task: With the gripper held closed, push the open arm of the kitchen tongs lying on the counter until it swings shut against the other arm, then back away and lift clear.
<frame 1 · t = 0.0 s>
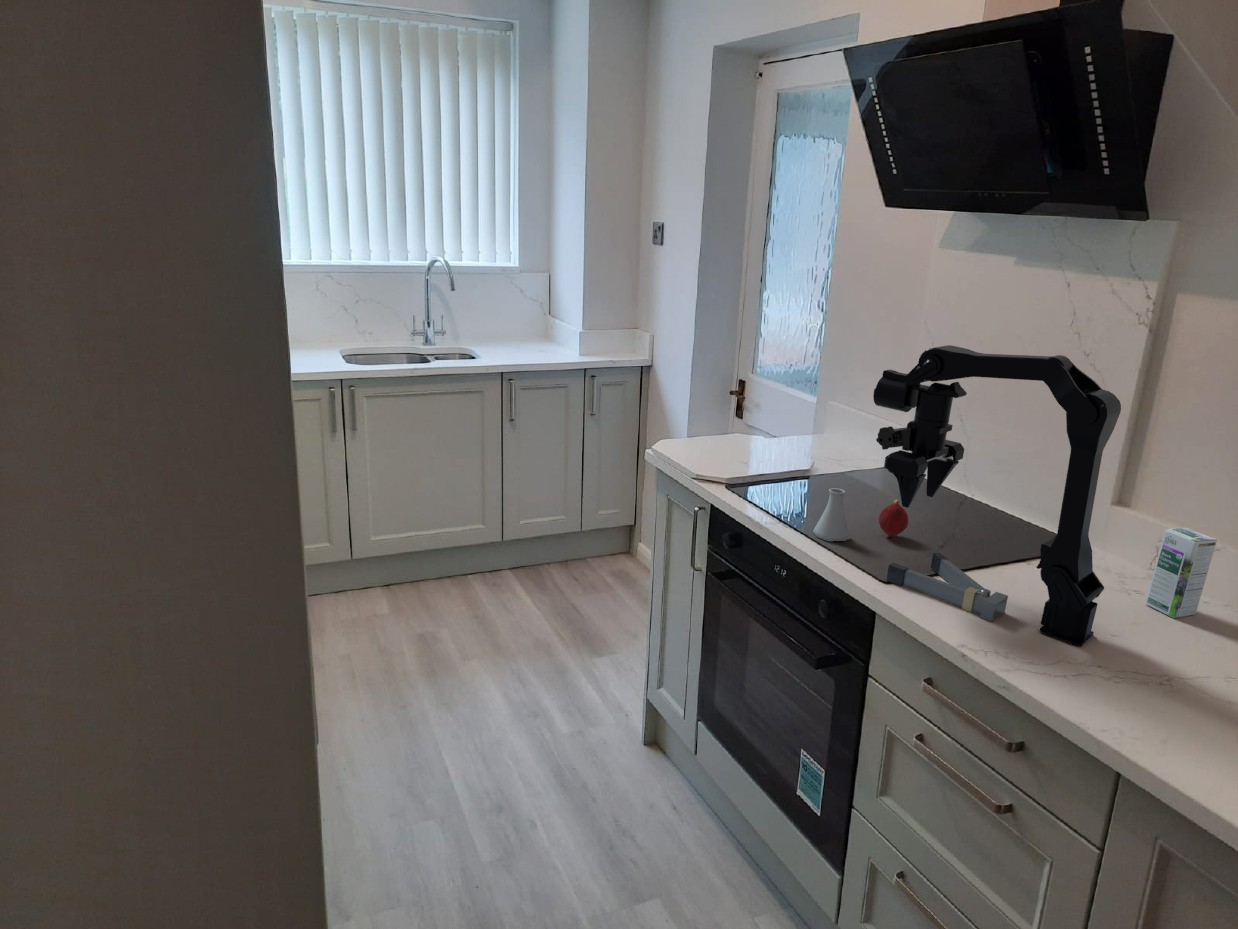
hand: (917, 501, 153), 15 cm above the counter, tool pointing down, fingers open, 9 cm apart
tongs: (982, 608, 146), on the counter
syrup box: (1169, 610, 150), on the counter
onion: (890, 537, 176), on the counter
tongs arm: (959, 579, 153), point 2 cm above the counter, hinge at 35.0°
flask: (831, 537, 175), on the counter
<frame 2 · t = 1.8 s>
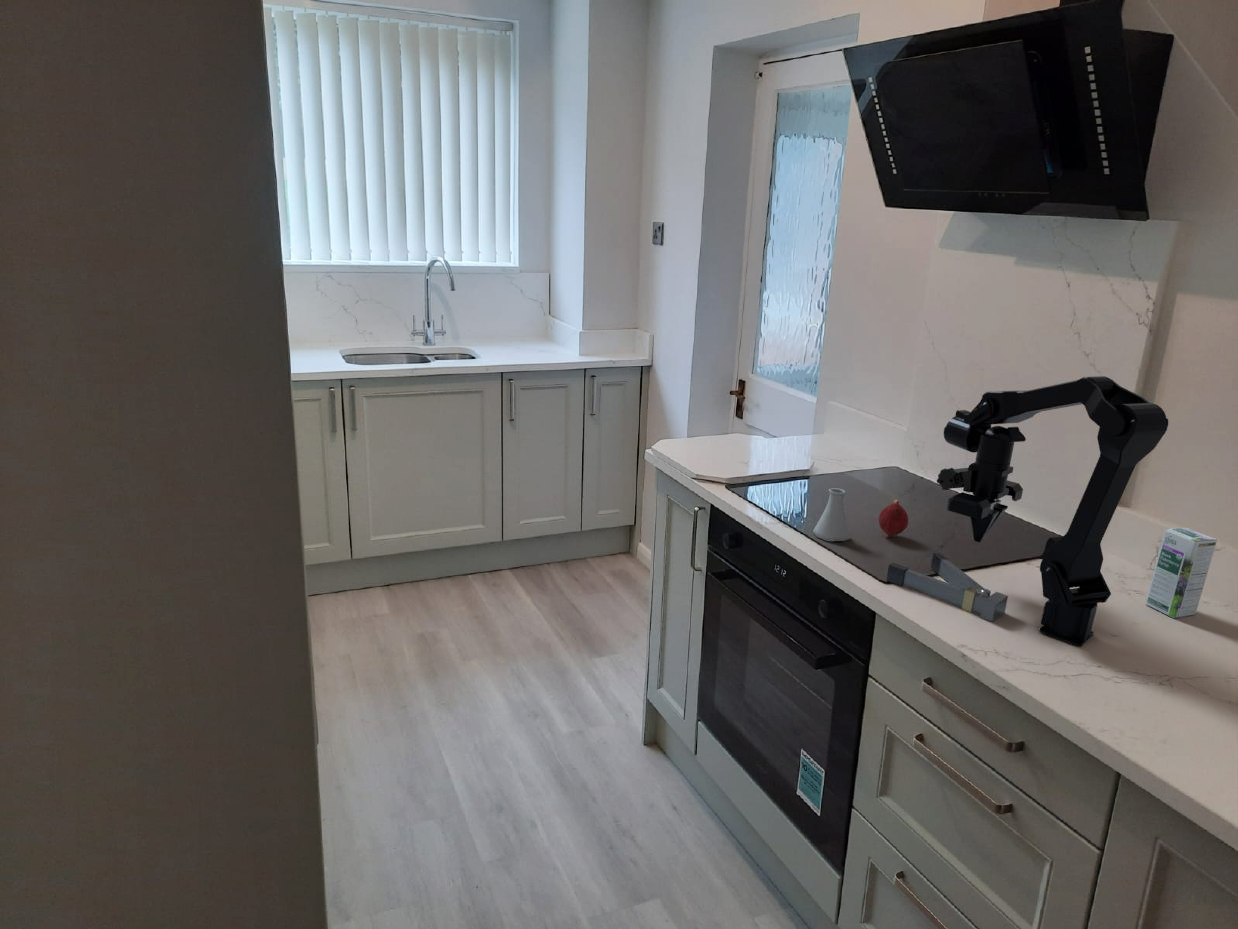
hand: (977, 541, 156), 7 cm above the counter, tool pointing down, fingers closed
nothing on the counter moved.
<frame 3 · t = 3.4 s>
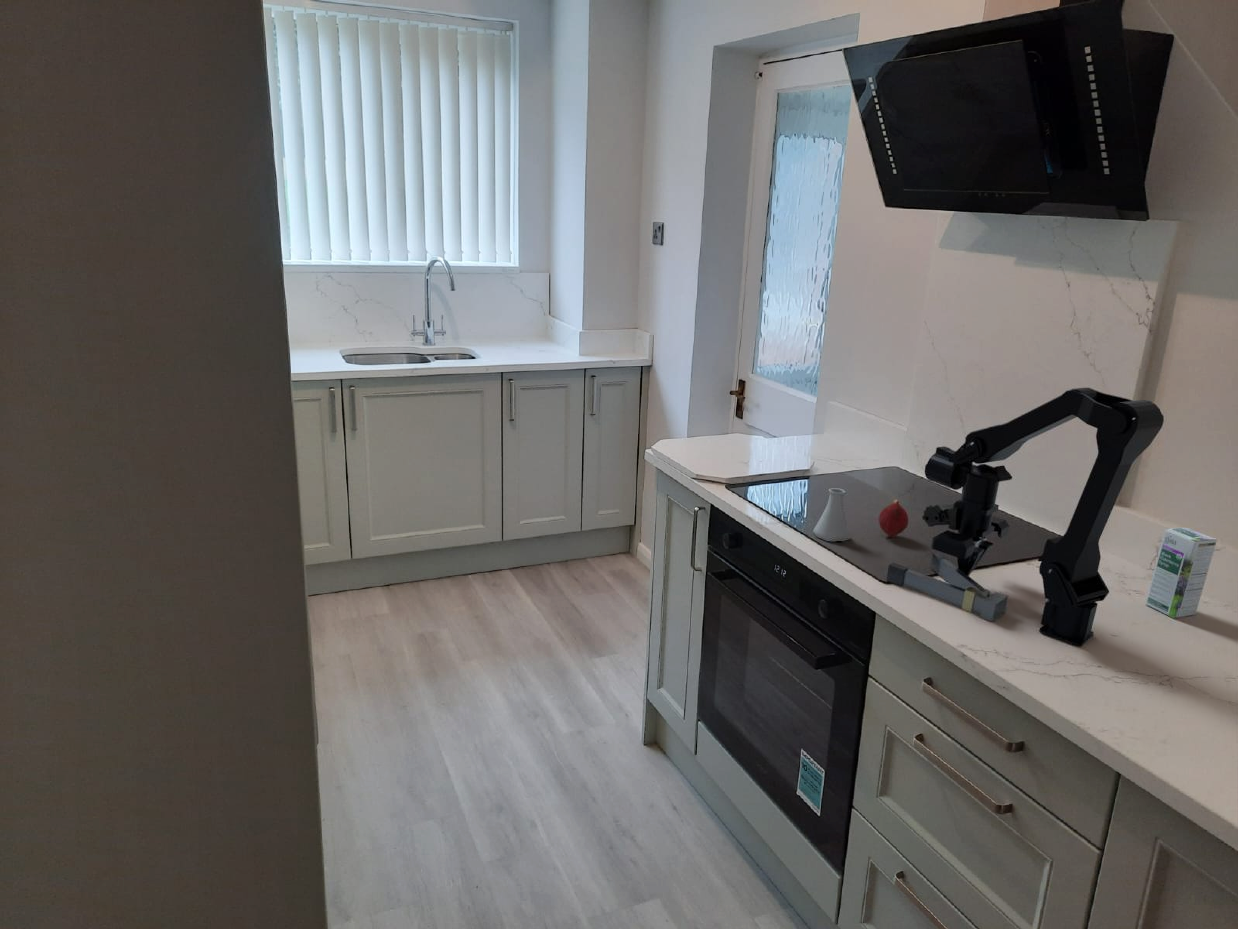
hand: (963, 578, 156), 1 cm above the counter, tool pointing down, fingers closed
tongs arm: (959, 579, 153), point 2 cm above the counter, hinge at 34.8°, touching gripper
everything else where it was.
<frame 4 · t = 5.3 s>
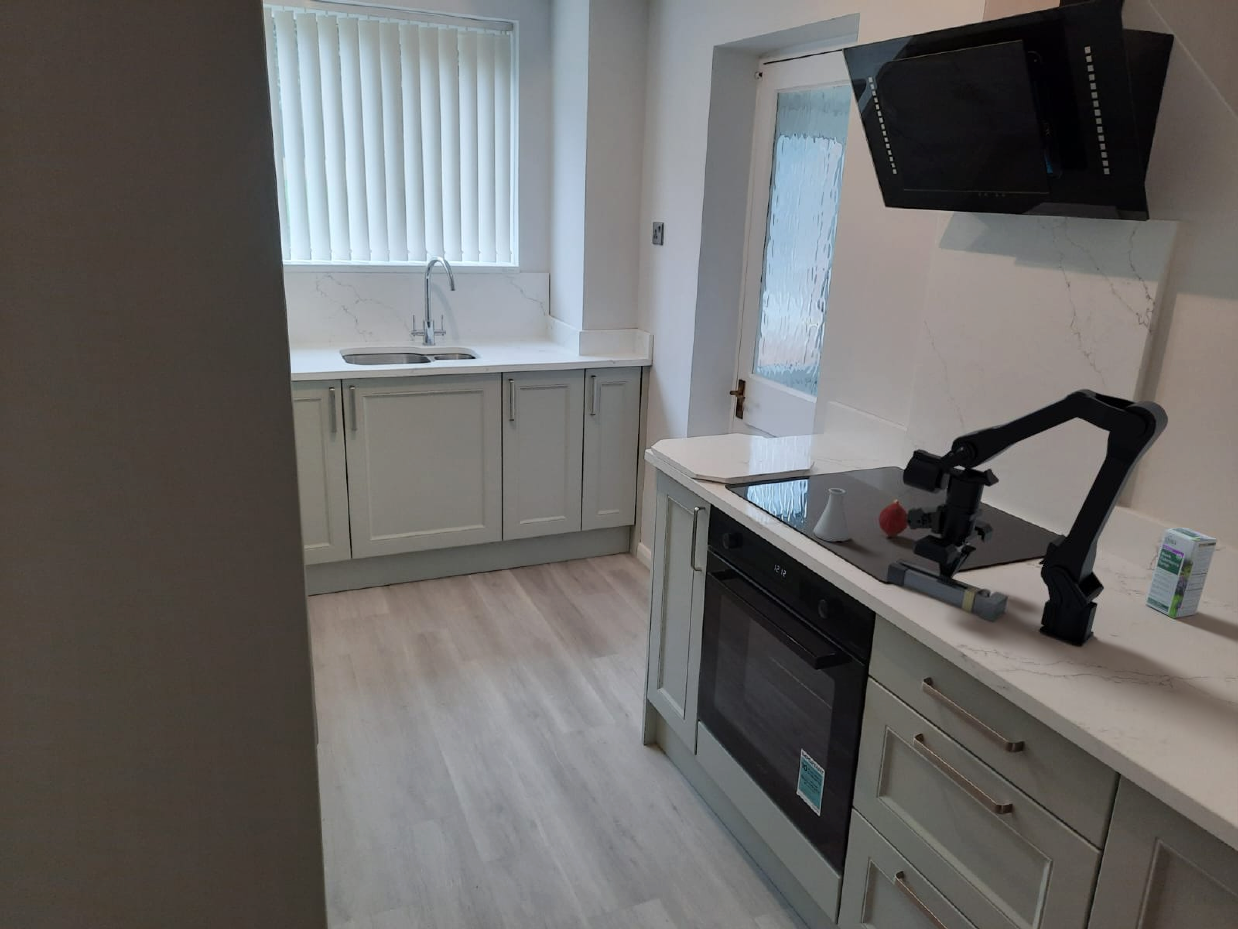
hand: (944, 582, 152), 1 cm above the counter, tool pointing down, fingers closed
tongs arm: (941, 583, 151), point 2 cm above the counter, hinge at 1.4°, touching gripper
everything else where it was.
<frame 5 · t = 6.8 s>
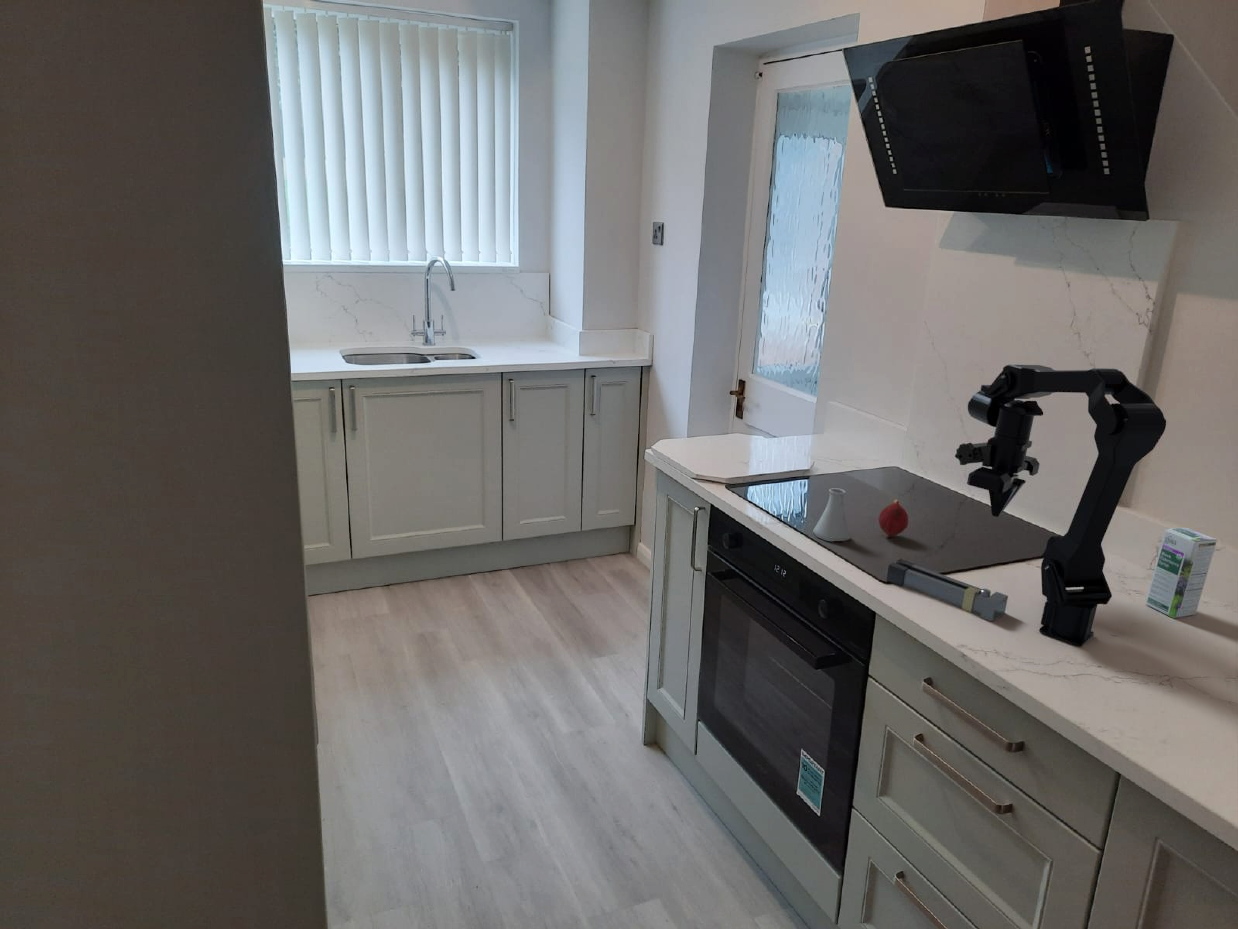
hand: (995, 516, 156), 12 cm above the counter, tool pointing down, fingers closed
tongs arm: (941, 583, 151), point 2 cm above the counter, hinge at 1.4°
everything else where it was.
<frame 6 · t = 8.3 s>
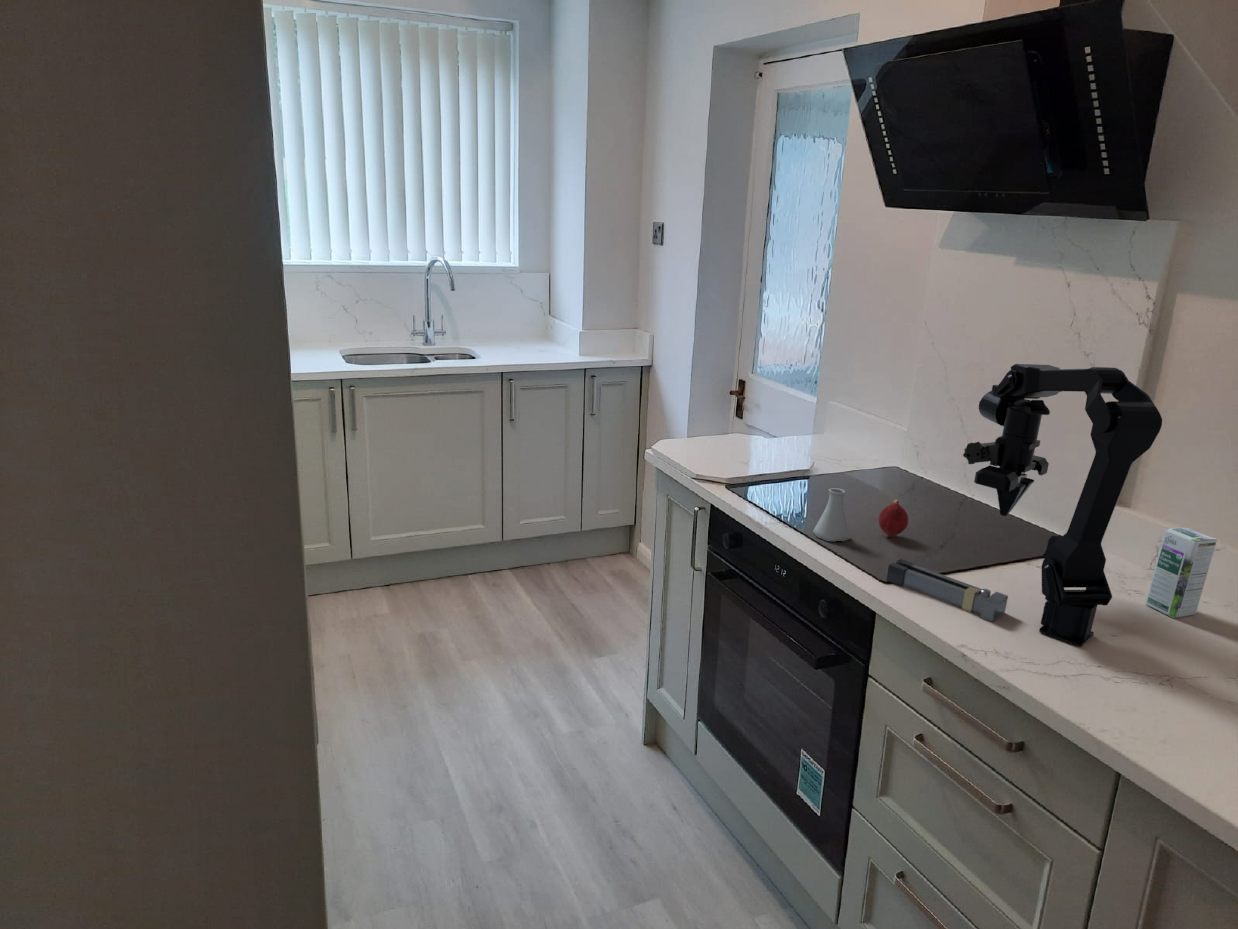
hand: (1003, 515, 157), 12 cm above the counter, tool pointing down, fingers closed
nothing on the counter moved.
at the end: tongs arm at +1° (first picture: +35°); onion moved 0.2 cm from its start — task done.
